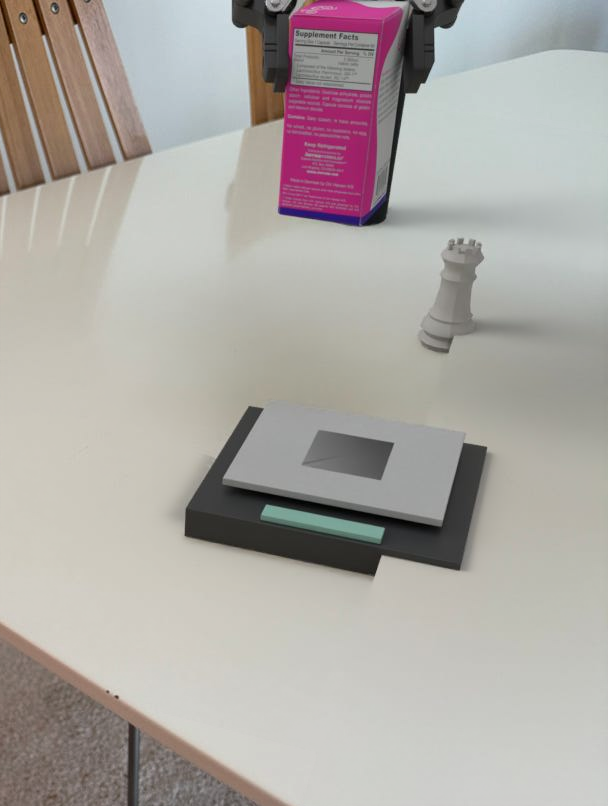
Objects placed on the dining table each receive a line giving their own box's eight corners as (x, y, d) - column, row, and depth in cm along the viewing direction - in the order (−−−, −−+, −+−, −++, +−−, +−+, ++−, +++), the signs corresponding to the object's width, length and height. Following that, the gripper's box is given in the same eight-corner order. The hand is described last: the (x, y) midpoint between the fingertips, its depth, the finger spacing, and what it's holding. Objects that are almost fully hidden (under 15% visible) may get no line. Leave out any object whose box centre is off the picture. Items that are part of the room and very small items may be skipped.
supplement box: (301, 189, 71) (321, -6, 64) (387, 202, 69) (417, 1, 62) (272, 215, 67) (289, 9, 60) (361, 228, 65) (391, 17, 58)
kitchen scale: (480, 473, 69) (491, 432, 67) (453, 592, 59) (464, 549, 57) (246, 431, 73) (249, 391, 71) (184, 536, 63) (185, 493, 61)
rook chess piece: (474, 356, 83) (498, 255, 77) (417, 352, 83) (436, 251, 78) (470, 334, 86) (492, 235, 81) (415, 329, 87) (433, 231, 81)
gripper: (233, -226, 60) (232, 44, 58) (483, -227, 60) (489, 44, 58) (223, -120, 67) (222, 122, 66) (445, -120, 67) (450, 122, 66)
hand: (347, 85), depth 62 cm, fingers closed on supplement box, 7 cm apart
